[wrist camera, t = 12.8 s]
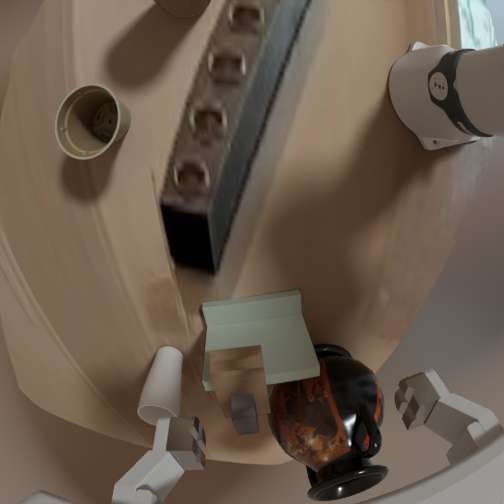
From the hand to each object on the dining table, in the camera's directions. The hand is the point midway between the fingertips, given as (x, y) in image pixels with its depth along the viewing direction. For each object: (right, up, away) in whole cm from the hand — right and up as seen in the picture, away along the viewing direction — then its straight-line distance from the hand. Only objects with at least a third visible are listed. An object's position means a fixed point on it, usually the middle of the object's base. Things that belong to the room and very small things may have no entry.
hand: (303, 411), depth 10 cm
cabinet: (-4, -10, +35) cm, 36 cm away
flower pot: (-22, +25, +25) cm, 42 cm away
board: (-2, -4, +39) cm, 39 cm away
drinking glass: (-18, -13, +42) cm, 48 cm away
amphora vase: (+11, -18, +46) cm, 51 cm away
